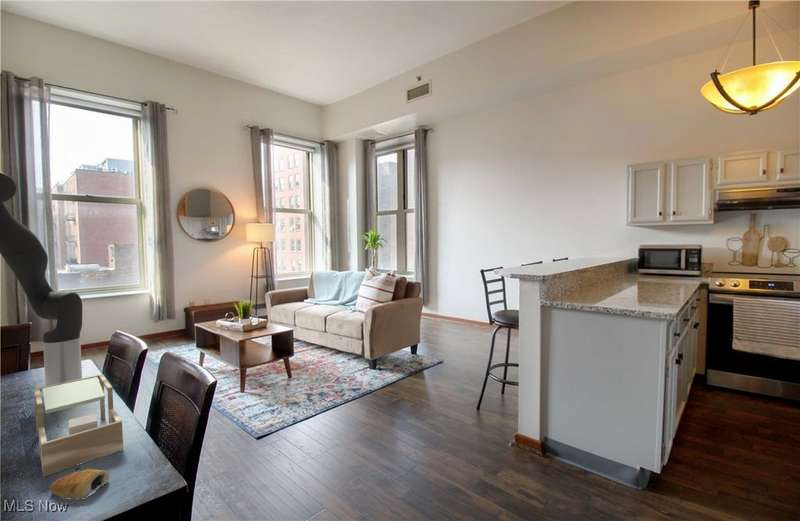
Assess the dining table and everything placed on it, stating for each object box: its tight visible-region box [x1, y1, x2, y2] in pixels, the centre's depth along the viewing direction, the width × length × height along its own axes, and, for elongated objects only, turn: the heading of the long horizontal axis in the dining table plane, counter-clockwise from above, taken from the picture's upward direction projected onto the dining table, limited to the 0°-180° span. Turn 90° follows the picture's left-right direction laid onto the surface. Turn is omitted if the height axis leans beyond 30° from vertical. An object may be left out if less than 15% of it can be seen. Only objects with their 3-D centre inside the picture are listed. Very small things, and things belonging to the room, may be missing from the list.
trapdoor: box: [41, 377, 106, 415], centre depth 95 cm, size 11×11×1 cm
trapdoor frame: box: [33, 374, 124, 478], centre depth 91 cm, size 24×14×12 cm, turn 47°
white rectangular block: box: [68, 412, 99, 435], centre depth 87 cm, size 5×5×8 cm
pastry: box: [49, 468, 110, 499], centre depth 74 cm, size 9×7×4 cm
